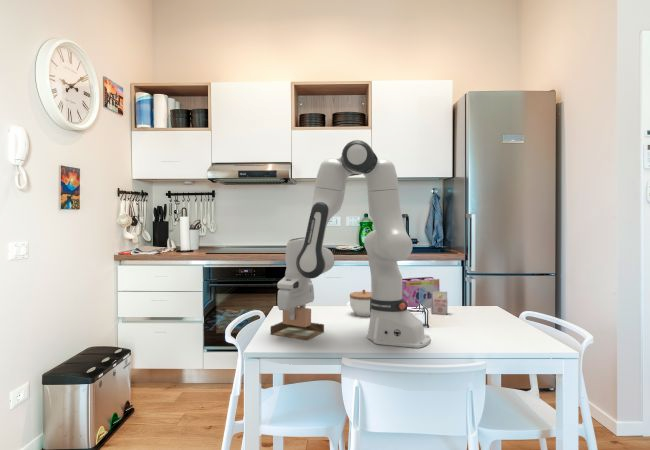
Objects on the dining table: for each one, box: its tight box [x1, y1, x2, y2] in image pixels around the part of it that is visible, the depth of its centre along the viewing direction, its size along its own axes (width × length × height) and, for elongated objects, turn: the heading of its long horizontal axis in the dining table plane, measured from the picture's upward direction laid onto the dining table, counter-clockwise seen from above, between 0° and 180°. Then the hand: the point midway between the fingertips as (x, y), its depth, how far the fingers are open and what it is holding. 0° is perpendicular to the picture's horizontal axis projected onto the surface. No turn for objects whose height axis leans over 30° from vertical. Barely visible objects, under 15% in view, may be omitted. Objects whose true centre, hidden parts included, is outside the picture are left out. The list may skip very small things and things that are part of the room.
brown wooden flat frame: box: [270, 321, 325, 341], centre depth 153 cm, size 16×12×3 cm
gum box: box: [402, 276, 441, 309], centre depth 198 cm, size 24×8×14 cm, turn 109°
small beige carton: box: [430, 291, 449, 316], centre depth 184 cm, size 4×7×10 cm, turn 78°
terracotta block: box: [282, 307, 312, 327], centre depth 153 cm, size 4×10×6 cm, turn 62°
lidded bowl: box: [349, 289, 371, 317], centre depth 182 cm, size 13×13×11 cm
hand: (296, 318), depth 153 cm, fingers closed on terracotta block, 4 cm apart
